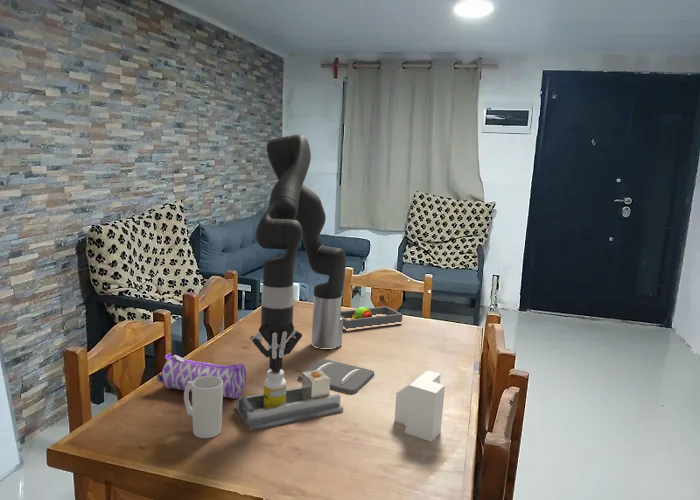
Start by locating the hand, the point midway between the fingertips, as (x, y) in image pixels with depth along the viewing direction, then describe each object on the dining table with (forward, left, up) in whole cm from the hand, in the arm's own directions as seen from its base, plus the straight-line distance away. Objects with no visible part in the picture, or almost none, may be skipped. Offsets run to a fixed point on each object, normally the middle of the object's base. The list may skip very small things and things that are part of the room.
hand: (275, 371), depth 132 cm
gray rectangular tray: (-57, -52, -11) cm, 78 cm away
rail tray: (-4, 0, -11) cm, 12 cm away
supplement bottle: (0, 0, -10) cm, 10 cm away
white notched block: (-30, +19, -11) cm, 37 cm away
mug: (+18, +1, -11) cm, 21 cm away
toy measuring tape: (-58, -53, -11) cm, 80 cm away
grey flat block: (-24, -13, -12) cm, 30 cm away
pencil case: (+13, -18, -11) cm, 25 cm away
